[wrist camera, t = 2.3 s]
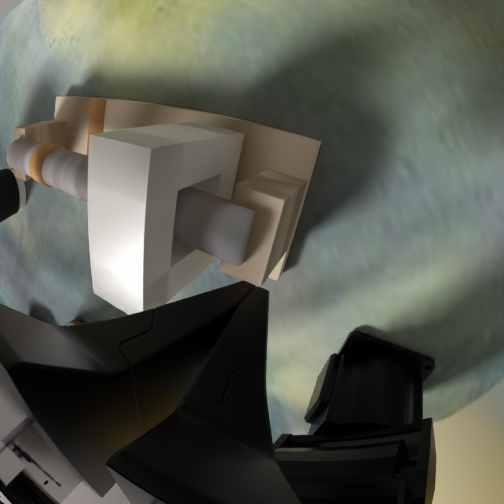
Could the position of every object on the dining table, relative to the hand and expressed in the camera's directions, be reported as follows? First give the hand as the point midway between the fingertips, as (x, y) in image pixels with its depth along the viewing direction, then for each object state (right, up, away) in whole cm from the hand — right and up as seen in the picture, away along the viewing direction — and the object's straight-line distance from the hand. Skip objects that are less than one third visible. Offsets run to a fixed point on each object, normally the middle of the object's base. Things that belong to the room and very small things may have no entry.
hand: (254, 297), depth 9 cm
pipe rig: (-7, +7, +10) cm, 14 cm away
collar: (-3, +5, +7) cm, 9 cm away
